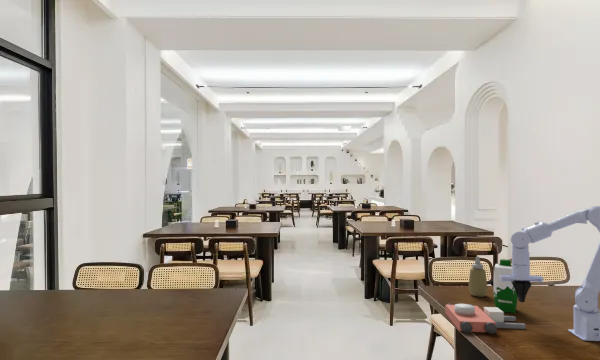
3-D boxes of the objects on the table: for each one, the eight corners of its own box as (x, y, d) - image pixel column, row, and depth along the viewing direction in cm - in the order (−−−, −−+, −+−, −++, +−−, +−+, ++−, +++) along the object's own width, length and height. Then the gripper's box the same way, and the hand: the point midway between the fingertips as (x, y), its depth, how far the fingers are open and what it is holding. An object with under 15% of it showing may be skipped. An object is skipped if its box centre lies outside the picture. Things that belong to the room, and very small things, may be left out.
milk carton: (517, 308, 167) (517, 260, 168) (517, 314, 159) (517, 263, 160) (494, 305, 171) (493, 258, 172) (493, 311, 163) (493, 261, 164)
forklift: (534, 335, 136) (534, 318, 136) (460, 332, 139) (460, 315, 139) (507, 314, 159) (507, 299, 159) (444, 312, 162) (444, 297, 162)
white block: (503, 326, 145) (503, 312, 145) (481, 325, 146) (481, 311, 146) (497, 320, 151) (497, 307, 151) (476, 319, 152) (476, 306, 152)
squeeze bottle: (464, 294, 190) (464, 255, 190) (477, 292, 193) (476, 254, 193) (478, 298, 182) (478, 258, 183) (491, 296, 186) (491, 257, 186)
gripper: (536, 262, 151) (537, 298, 151) (496, 261, 153) (496, 297, 152) (545, 266, 144) (546, 304, 144) (503, 265, 146) (504, 303, 145)
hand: (521, 301), depth 148 cm, fingers closed
